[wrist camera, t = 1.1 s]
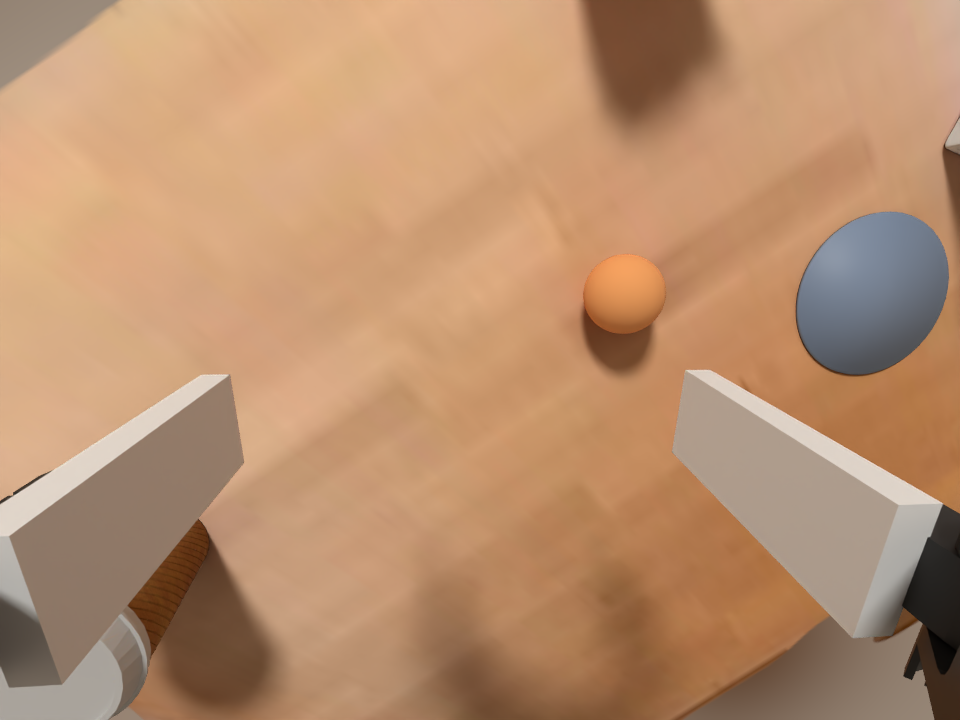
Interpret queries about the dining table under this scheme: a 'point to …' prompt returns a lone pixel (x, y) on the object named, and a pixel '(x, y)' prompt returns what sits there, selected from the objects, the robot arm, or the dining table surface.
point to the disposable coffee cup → (115, 648)
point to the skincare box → (954, 139)
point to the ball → (624, 293)
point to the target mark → (872, 293)
